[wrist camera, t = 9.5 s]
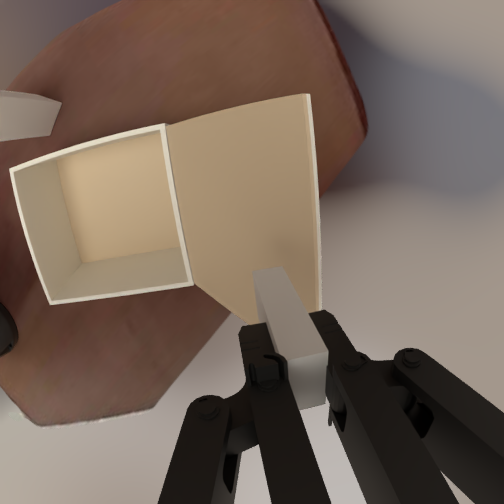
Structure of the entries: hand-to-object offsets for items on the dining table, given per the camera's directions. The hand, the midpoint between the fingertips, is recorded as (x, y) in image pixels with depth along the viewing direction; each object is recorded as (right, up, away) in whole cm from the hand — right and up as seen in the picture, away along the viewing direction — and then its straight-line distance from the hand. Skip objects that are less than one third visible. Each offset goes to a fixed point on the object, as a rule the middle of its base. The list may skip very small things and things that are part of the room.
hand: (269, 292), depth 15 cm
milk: (-36, +25, +24) cm, 50 cm away
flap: (-3, +4, +11) cm, 12 cm away
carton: (-22, +10, +31) cm, 40 cm away
